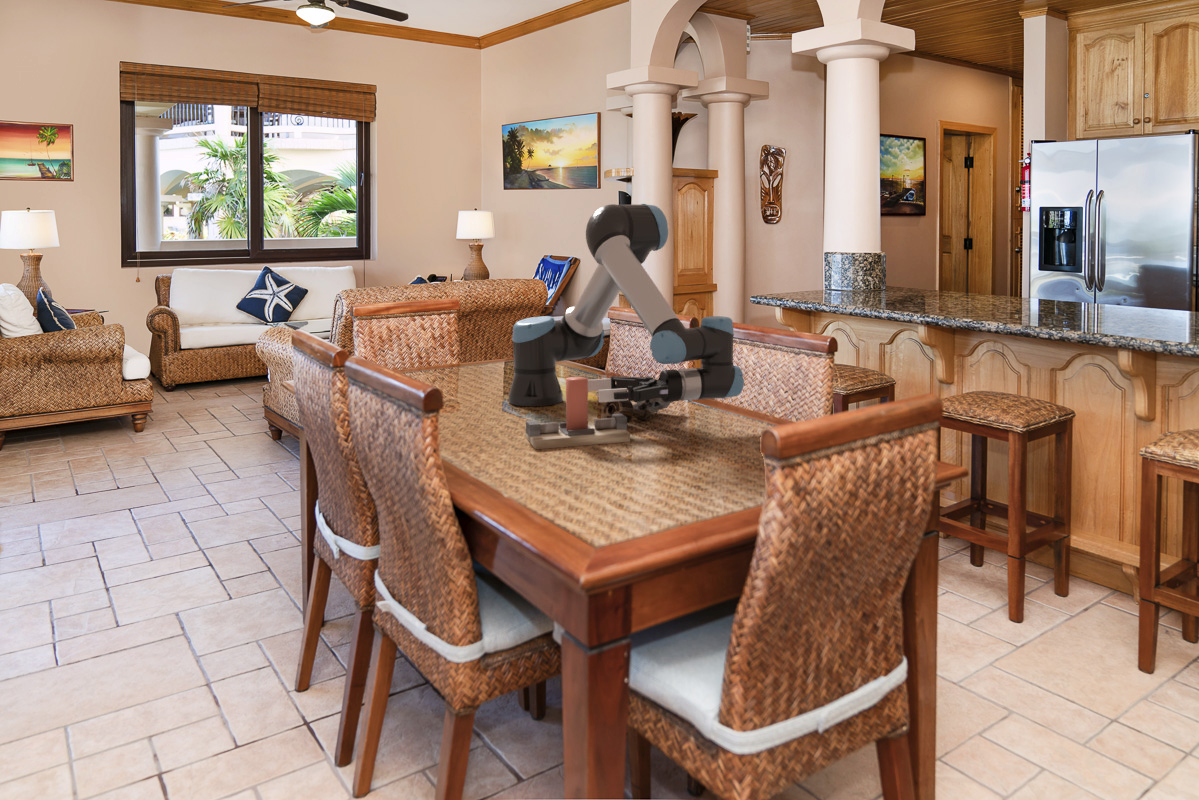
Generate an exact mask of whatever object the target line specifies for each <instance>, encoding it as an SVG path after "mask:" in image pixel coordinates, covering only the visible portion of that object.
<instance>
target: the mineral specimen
mask: <svg viewBox="0 0 1199 800" xmlns="http://www.w3.org/2000/svg"><path fill="white" fill-rule="evenodd" d="M673 402H675V401H673ZM673 402H664V401H663V400H662V398H661V397H660V398H655V399H650V400H645V401H640V402H635V404H633V409H639V410H643V409H646V410H649V411H650V412H651V413H652V414H655V413H658V412H659V410H664V409H667V408H669V406H670V405H671V403H673Z"/></svg>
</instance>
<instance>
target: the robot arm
mask: <svg viewBox="0 0 1199 800" xmlns="http://www.w3.org/2000/svg"><path fill="white" fill-rule="evenodd" d="M668 224H669V223H668V221H667V216H666V215H665V214H664V212H663V210H661V208H660V207H658V206H657V205H654V204H646V203H640V204H606V205H603V206H601V207H599V208H598V209H596V210H595V211H594V212H593V214H592V215H590V217H589V219H588V222H587V224H586V226H585V228H586V229H585V240H586V241H585V242H586V244H587V245H586V246H587V248H588V250H589V252H590V254H591V255H592V257H593V259H594V260H595V262H596V263H597V264H598V265H597V266H596V268H595V269H594V271H593V273H592V275H591V277H590V279H589V280H588V283H587V284H586V286H585V288H584V290H583V291H582V293H581V295H580V296H579V298H578V301H577V302H576V303H575V305H573V306H570V307H568V308H567V309H566V311H565V313H564V315H563V316H562V318H561V319H558V320H555V318H554V317H553V316H550V315H545V316H544V315H542V316H533V317H527V318H522V319H520V320H517V321H516V322H515V323H514V324H513V326H512V337H511V339H512V346H513V347H512V349H513V350H512V352H513V372H514V373H513V379H512V381H511V385H510V390H509V393H508V403H509V404H511V405H514V406H520V407H521V406H522V407H543V406H552V405H557V404H560V403H562V402H563V400H564V398H563V397H564V394H563V391H562V388H561V385H560V382H559V380H558V379H559V378H558V376H557V369H556V362H557V363H558V362H564V361H566V362H567V361H574V360H584V359H588V358H592V357H594V356H596V355H597V354H598V353H599V352H600V351H601V349H602V348H603V346H604V342H605V339H604V337H605V329H604V324H603V320H604V318H605V316H607V314H608V311H609V310H610V308H611V306H612V305H613V304H614V301H615V300H616V298H617V297H618V295H619V293H620V292H621V293H622V295H623V296H624V298H625V299H626V301H627V302H628V303H629V305H630V306H631V308H632V309H633V311H634V312H635V314H636V315H637V317H638V318H639V320H640V321H641V322H642V324H643V326H644V327H645V329H646V330H647V332H648V333H649V335H650V336H651V341H650V343H649V348H650V351H651V356H652V358H653V359H654V360H655V361H656V362H657V363H659V364H663V365H672V364H673V365H677V364H680V363H685V362H692V361H700V365H701V367H690V368H679V369H678V370H677V369H676V368H675V369H663V370H661V371H660V373H659V377H658V379H657V378H654V377H653V376H650V375H649V376H613V375H612V376H610V377H609V378H598V379H597V378H596V379H595V378H593V379H588V393H589V392H597V393H598V394H597V395H598V396H597V397H598V403H606V402H613V401H627V399H628V400H629V401H631V402H632V403H633V402H634V403H637V402H640V401H645V400H650V399H655V398H660V397H661V398H662V400H663V401H664V402H671V403H673V401H674V402H678V401H687V402H688V403H692V402H693V400H694V401H697V400H711V399H726V398H727V399H728V398H734V397H737V396H739V395H741V393H742V392H743V390H744V385H745V384H744V383H745V380H744V379H745V378H744V373H743V371H742V369H741V367H739V366H738V365H734V337H735V336H734V335H735V334H734V323H733V320H732V318H731V317H729V316H720V315H719V316H718V315H717V316H715V315H713V316H705V317H703V318H702V319H701V321H700V322H701V323H700V326H697V327H689V328H687V327H685V326H684V324H683V323H682V321H681V320H680V318H679V317H678V316H677V314H676V313H675V311H674V310H673V309H672V307H671V305H670V304H669V302H668V301H667V299H666V298H665V297H664V295H663V294H662V292H661V291H660V290H659V288H658V286H657V285H656V284H655V282H654V281H653V280H652V278H651V276H650V274H648V272H647V271H646V268H644V266H643V265H642V264H644V263H645V261H646V259H647V257H648V256H649V254H650V253H651V252H652V251H654V252H657V251H658V250H661V249H663V247H664V246H665V245H666V243H667V242H668V241H667V240H668V236H669V226H668Z"/></svg>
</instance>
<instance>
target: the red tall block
mask: <svg viewBox="0 0 1199 800" xmlns="http://www.w3.org/2000/svg"><path fill="white" fill-rule="evenodd" d="M588 380H589V379H588V377H584V376H583V377H582V376H570V377H567V378H565V418H566V419H565V421H566V431H568V430H579V429H588V424H589V397H588V395H589V392H588Z"/></svg>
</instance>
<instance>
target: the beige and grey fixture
mask: <svg viewBox="0 0 1199 800" xmlns="http://www.w3.org/2000/svg"><path fill="white" fill-rule="evenodd" d="M524 431H525V434H524V435H525V436H524V437H525V439H526V440H527V441H528V442H529V443H530V445H531V446H532V447H533V448H534V449H535V450H542V449H543V450H544V449H555V448H565V447H566V448H567V447H578V446H579V447H581V446H590V445H591V446H593V445H602V444H603V445H604V444H615V443H627V442H631V432H629V431H628V423H627V417H626V416H624V415H623V414H612V418H605V419H604V418H596V419H594V423H588V429H579V430H568V431H566V422H558V421H556V422H555V421H553V422H539V421H538V420H537V419H534V420H533V419H532V420H525V428H524Z"/></svg>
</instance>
